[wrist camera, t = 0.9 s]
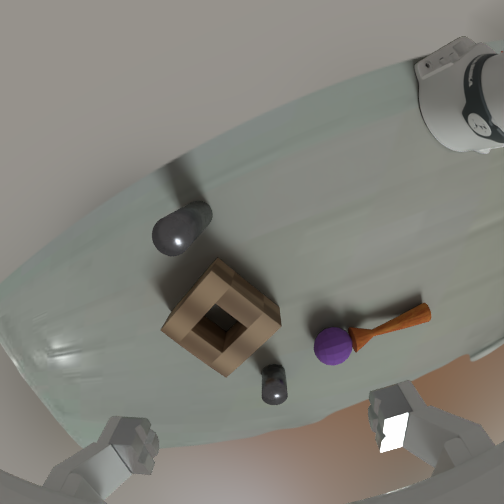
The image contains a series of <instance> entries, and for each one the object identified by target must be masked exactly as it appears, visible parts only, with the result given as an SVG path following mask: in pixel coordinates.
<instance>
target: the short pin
mask: <svg viewBox="0 0 504 504" xmlns="http://www.w3.org/2000/svg"><path fill="white" fill-rule="evenodd" d="M287 397H288V394H287V384H286V374H285V370H284V368H283V367H282V366H280V365H276V364H273V365H269V366H267V367H265V368H264V369H263V371H262V399H263V401H264V402H265V403H267V404H270V405H278V404H281V403H283V402H284V401H285V400H286V399H287Z"/></svg>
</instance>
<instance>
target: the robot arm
mask: <svg viewBox="0 0 504 504" xmlns="http://www.w3.org/2000/svg"><path fill="white" fill-rule="evenodd" d="M501 52H502V53H500V54H497V53H496V52H495V51H494V50H493V49H492V48H491V47H489V46H488V45H486V44H485V43H482V42H480V43H477V44H476V43H475V42H474V41H472V40H471V39H469V38H467V37H465V36H462V37H459V38H457V39H456V40H454V41H452V42H450V43H449V44H447V45H445V46H444V47H442V48H440V49H439V50H437V51H435V52H434V53H432V54H430V55H429V56H427V57H425V58H424V59H422V60H420V61H419V62H417V63H416V64H415V72H416V76H417V79H418V81H419V103H420V109H421V112H422V116H423V118H424V121H425V123H426V125H427V127H428V128H429V130H430V131H431V133H432V134H433V135H434V137H435V138H436V139H437V140H438V141H439V142H440V143H441V144H443V145H444V146H445V147H447V148H449V149H451V150H454V151H458V152H465V151H476V152H478V153H481V154H486V153H489V151H490V149H491V148H498V147H504V52H503V51H501ZM425 64H426V65H427V66H428V68H427V67H426V65H425ZM369 401H370V403H371V405H370V406H369V408H368V417H369V423H370V427H371V429H372V431H373V432H375V433H376V442H377V445H378V447H379V450H380V452H383V451H387V450H390V449H393V448H397V447H400V446H403V447H404V448H405V449H407V450H408V451H409V452H411V453H413V454H414V455H416V456H417V457H419V458H420V459H422V460H423V461H425V462H426V463H428V464H430V465H431V466H433V467H434V468H435V469H434V471H433V474H432V476H431V477H430V478H428V479H425V480H423V481H420V482H417V483H415V484H412V485H410V486H406V487H403V488H401V489H398V490H394V491H391V492H388V493H385V494H382V495H378V496H375V497H371V498H367V499H364V500H360V501H355V502H352V503H347V504H504V441H503V442H502V443H500V444H498V445H496V446H495V444H494V443H493V441H492V440H491V439H490V437H489V436H488V434H487V433H486V432H485V430H484V429H483V428H482V426H481V425H479V424H477V423H474V422H472V421H469V420H466V419H464V418H461V417H459V416H456V415H453V414H451V413H448V412H446V411H443V410H441V409H438V408H436V407H433V406H428V407H427V405H426V404H425V402H424V401H423V399H422V398H421V396H420V395H419V393H418V392H417V390H416V389H415V387H414V386H413V384H412V383H411V381H409V380H406V381H403V382H400V383H397V384H394V385H391V386H387V387H384V388H380V389H376V390H373V391H370V393H369ZM150 427H151V423H150V421H149V420H148V419H147V418H138V417H119V416H112V417H111V418H110V419H109V421H108V423H107V424H106V426H105V428H104V430H103V432H102V434H101V436H100V437H99V439H98V441H97V443H95V442H93V443H92V444H90V445H89V446H87V447H86V448H84V449H82V450H81V451H79V452H78V453H76V454H74V455H73V456H71V457H69V458H68V459H66V460H65V461H63V462H61V463H60V464H58V465H56V466H55V467H53V469H52V471H51V472H50V474H49V476H48V477H47V479H46V481H45V483H44V484H43V486H39V485H36V484H34V483H31V482H29V481H26V480H24V479H21V478H19V477H16V476H14V475H12V474H9V473H7V472H5V471H3V470H1V469H0V504H107V503H106V502H105V501H104V500H105V499H106V498H107V497H108V496H109V495H110V494H112V493H113V492H114V491H115V490H116V489H117V488H118V487H119V486H120V485H121V484H122V483H123V482H124V481H126V480H127V479H128V478H129V477H130V476H131V475H132V474H131V473H133V474H145V475H151V473H152V470H153V467H154V464H155V462H154V460H153V458H154V457H155V456H156V455H157V454H158V451H159V439H158V436H157V434H156V432H154V431H153V430H151V429H150Z"/></svg>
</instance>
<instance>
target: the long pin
mask: <svg viewBox="0 0 504 504" xmlns="http://www.w3.org/2000/svg"><path fill="white" fill-rule="evenodd" d="M211 220H212V210H211V208H210V206H209V205H208V204H207V203H205V202H203V201H194V202H192V203H190V204H188V205H186V206H184V207H182V208H180V209H178V210H177V211H175V212H173V213H171V214H169V215H167V216H165V217H164V218H162V219H160V220H159V221H158V222H157V223H156V224H155V226H154V228H153V231H152V239H153V243H154V245H155V247H156V248H157V249H158V250H159V251H160V252H161V253H163V254H165V255H168V256H177V255H180V254H182V253H183V252H184V251H185V250H186V249H187V248H188V247H189V246H190V245H191V244H192V243H193V241H194V240H195V239H196V238H197V237H198V236H199V235H200V234H201V233H202V231H203V230H204V229H205V228H206V227H207V226H208V225H209V224H210V222H211Z"/></svg>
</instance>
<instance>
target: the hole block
mask: <svg viewBox="0 0 504 504" xmlns="http://www.w3.org/2000/svg"><path fill="white" fill-rule="evenodd" d="M215 303H216V304H217V305H218V306H220V307H221V308H222V309H223V310H225V311H226V312H227V313H229V314H230V315H231V316H232V317H234V318H235V319H236V320H238V321H237V322H236V324H235V325H234V326H233V327H232V328H231V329H230V330H229V331H228V332H225V331H224V330H223V329H221V328H220V327H219V326H217V325H216V324H215V323H213V322H212V321H211V320H209V319H208V318H207V317H206V316H204V315H205V314H206V313H207V312H208V311H209V310H210V309H211V308H212V306H213V305H214V304H215ZM281 326H282V325H281V317H280V308H279V307H278V306H277V305H276V304H275V303H273V302H272V301H271V300H270V299H268V298H267V297H266V296H265V295H263V294H262V293H261V292H260V291H258V290H257V289H256V288H255V287H254V286H252V285H251V284H250V283H249V282H247V281H246V280H245V279H244V278H242V277H241V276H240V275H239V274H238V273H236V272H235V271H234V270H233V269H231V268H230V267H229V266H228V265H227V264H225V263H224V262H223V261H222V260H220V259H219V258H218V257H217V259H216V260H215V261H214V262H213V263H212V264H211V266H210V267H209V268H208V269H207V270H206V271H205V273H204V274H203V275H202V276H201V277H200V278H199V280H198V281H197V282H196V283H195V284H194V286H193V287H192V288H191V289H190V290H189V291H188V293H187V294H186V295H185V296H184V297H183V298H182V300H181V301H180V302H179V303H178V304H177V306H176V307H175V308H174V309H173V310H172V312H171V313H170V315H169V316H168V318H167V320H166V322H165V323H164V325H163V327H162V328H161V331H162V332H163V333H165V334H166V335H167V336H169V337H170V338H171V339H173V340H174V341H175V342H177V343H178V344H179V345H181V346H182V347H183V348H185V349H186V350H187V351H189V352H190V353H191V354H193V355H194V356H196V357H197V358H198V359H200V360H201V361H203V362H204V363H205V364H207V365H208V366H210V367H211V368H213V369H214V370H216V371H217V372H219V373H220V374H221V375H223V376H224V377H227V376H228V375H230V374H231V373H232V372H233V371H234V370H235V369H236V368H237V367H239V366H240V365H241V364H242V363H243V362H244V361H245V360H246V359H247V358H248V357H250V356H251V355H252V354H253V353H254V352H255V351H256V350H257V349H258V348H259V347H260V346H261V345H262V344H264V343H265V342H266V341H267V340H268V339H269V338H270V337H271V336H272V335H273V334H274V333H275V332H276V331H277V330H278V329H279V328H280V327H281Z"/></svg>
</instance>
